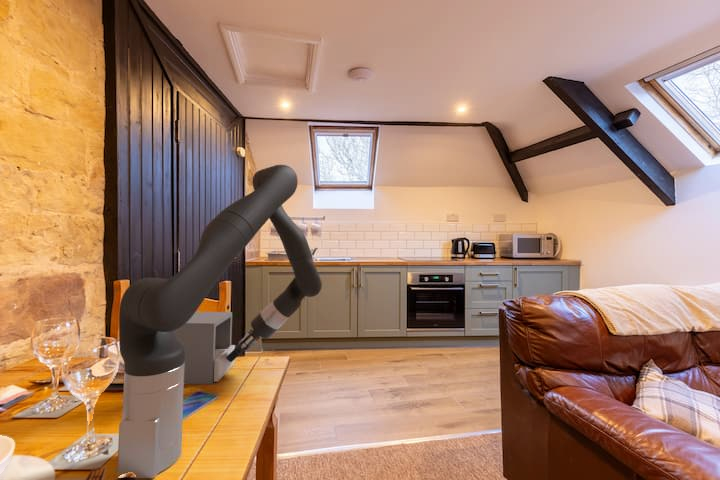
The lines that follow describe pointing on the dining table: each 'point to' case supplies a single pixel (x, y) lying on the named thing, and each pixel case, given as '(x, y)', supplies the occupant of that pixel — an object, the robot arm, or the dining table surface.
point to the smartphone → (196, 402)
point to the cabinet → (203, 344)
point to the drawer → (222, 362)
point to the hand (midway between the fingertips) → (229, 359)
